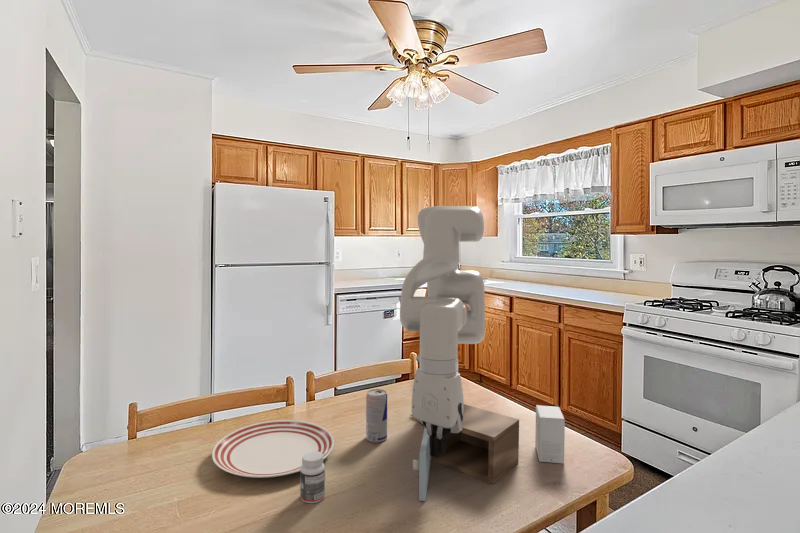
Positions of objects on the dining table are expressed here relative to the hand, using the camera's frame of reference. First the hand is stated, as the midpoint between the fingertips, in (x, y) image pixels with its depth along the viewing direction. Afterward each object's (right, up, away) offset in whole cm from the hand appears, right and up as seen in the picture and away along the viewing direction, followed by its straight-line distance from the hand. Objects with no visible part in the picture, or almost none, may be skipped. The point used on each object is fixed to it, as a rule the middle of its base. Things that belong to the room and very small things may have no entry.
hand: (437, 454), depth 88 cm
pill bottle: (-25, -8, -2) cm, 26 cm away
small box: (+28, -7, +15) cm, 32 cm away
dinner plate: (-37, -7, +15) cm, 40 cm away
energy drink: (-14, -6, +24) cm, 28 cm away
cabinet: (+9, -7, +12) cm, 17 cm away
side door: (-3, -7, +4) cm, 9 cm away
